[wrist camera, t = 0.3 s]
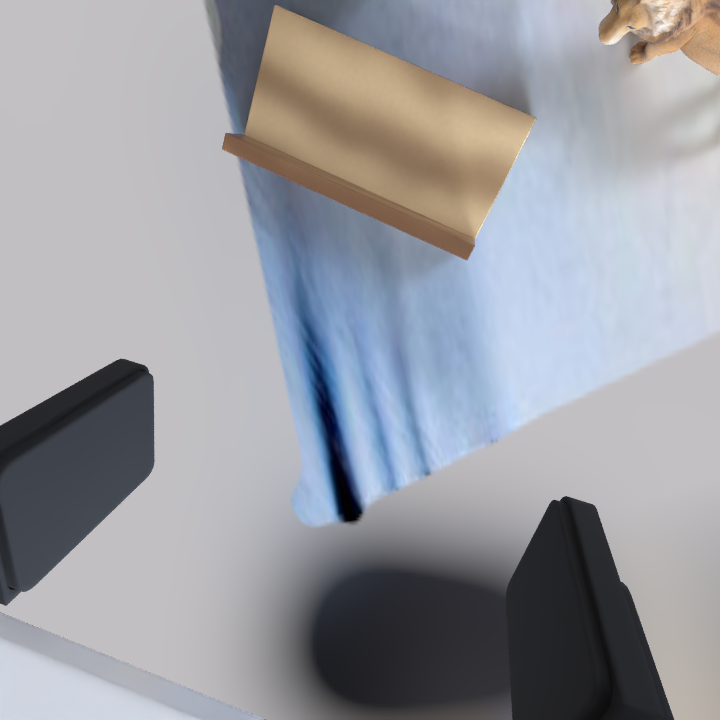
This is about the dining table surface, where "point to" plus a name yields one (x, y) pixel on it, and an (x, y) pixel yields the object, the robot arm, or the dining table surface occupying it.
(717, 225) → the dining table surface
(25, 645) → the robot arm
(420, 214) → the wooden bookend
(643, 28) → the lion figurine
